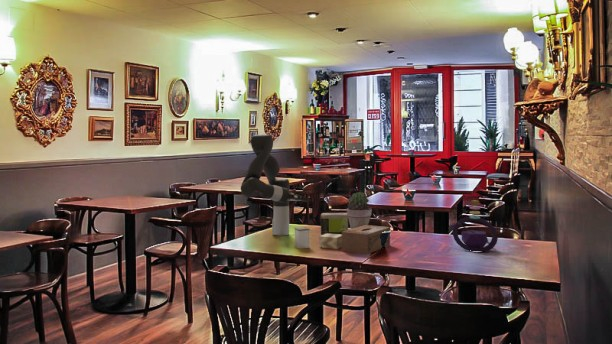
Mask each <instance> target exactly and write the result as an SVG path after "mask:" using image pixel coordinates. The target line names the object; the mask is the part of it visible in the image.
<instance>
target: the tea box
mask: <svg viewBox="0 0 612 344" xmlns="http://www.w3.org/2000/svg"><path fill="white" fill-rule="evenodd" d="M348 222H349V218H348V214H347V212H322V213H321V214H320V236H321V235H324V234H326V233H329V234H342V232H343V231H346V230H349V223H348Z"/></svg>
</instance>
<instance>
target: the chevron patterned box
mask: <svg viewBox="0 0 612 344" xmlns="http://www.w3.org/2000/svg"><path fill="white" fill-rule="evenodd" d="M318 237H319V238H318V239H319V241H318V242H319V245H318V247H319V248H321V247H322V248H323V249H339V248H342V234H329V233H326V234H324V235H321V234H320V235H319V236H318Z"/></svg>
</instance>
